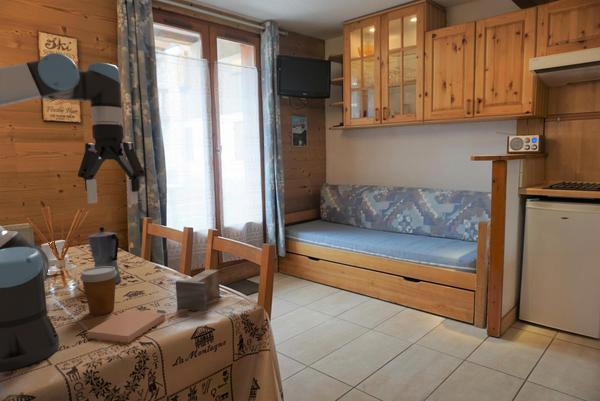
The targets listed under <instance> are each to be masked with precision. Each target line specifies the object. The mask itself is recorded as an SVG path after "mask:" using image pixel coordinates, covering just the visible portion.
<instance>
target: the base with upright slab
mask: <svg viewBox="0 0 600 401" xmlns="http://www.w3.org/2000/svg"><path fill="white" fill-rule="evenodd" d="M54 241H55V245H56V248H57V250H58V252H59V254H61V252H62V248H63V246H64V243H65V241H66V242H67V240H65V239H64V240H63V239H59V240H54ZM52 242H53V241H51V242H47V243H43V244H42V243H41V245H40V248H41V249H42V250H43V251H44V252H45V254H46V256H47V258H48V262H49V267H50V266H52V265H54V264H56V262H57V259H56V257H55V255H54V254H53V252H52V249H51V248H50V246H49V244H48V243H50V244H51V243H52ZM69 258H70V257H69V255H68V253H66V255H65V258H64V260H65V262H67V263H69V264H70V260H69Z"/></svg>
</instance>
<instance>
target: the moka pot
mask: <svg viewBox="0 0 600 401" xmlns="http://www.w3.org/2000/svg"><path fill="white" fill-rule="evenodd" d="M87 239H88V244H89V248H90V252H91V256H92V258H93V263H94V267H101V266H112V267H115V269H116V271H117V275H116V282H115V285H117V283H120V282H121V281H122V278H121V277H122V276H121V274H120V270H119V265H118V262H117V261H118V252H119V247H120V246H119V244H120V242H119V241H120V240H119V237H118V233H116V232H111V231H105V227H103V226H100V227H99V232H96V233H93V234H90V235H88V236H87ZM94 267H93V268H94Z"/></svg>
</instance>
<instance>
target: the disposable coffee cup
mask: <svg viewBox="0 0 600 401" xmlns="http://www.w3.org/2000/svg"><path fill="white" fill-rule="evenodd" d="M116 275H117V271H116V269H115V267H112V266H101V267H91V268H88V269H84V270H82V272H81V274H80V277H79V279H80V280H81V282H82V285H83V286H82V287H83V289H84V294H85V298H86V302H87V306H88V310H89V314H90V315H93V316H95V315H96V316H100V315H104V314H108V313H111V312H112V311H114V310H115V299H116V297H115V296H116V284H115V282H116Z"/></svg>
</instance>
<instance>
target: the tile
mask: <svg viewBox="0 0 600 401" xmlns="http://www.w3.org/2000/svg"><path fill="white" fill-rule="evenodd" d="M165 315H166V314H165V313H163V312H154V311H143V310H134V309H127V310H124V311H123V312H120V313H119V314H117V315H115V316H113V317H112V318H109V319H107V320H106V321H104V322H101V323H100V324H98V325H96V326H94V327H93V328H91V329H89V330H86V332H87V338H88V339H93V340H94V339H95V340H102V341H108V340H110V342H116V341H120V342H119V343H124V342H128V343H127V344H130V343H131V342H133V341H134V340H136V339H137V338H139V337H141V336H142V335H144V334H145V333H146V331H147V330H148V331H149V329H150V330H151V329H153V328H154V327H156V326H158V325H159V324H160V323H162V322H164V321H165V320H166V318H165ZM152 327H153V328H152ZM148 331H147V332H148ZM144 332H145V333H144ZM143 333H144V334H143ZM141 334H142V335H141ZM138 336H139V337H138ZM136 337H137V338H136ZM135 338H136V339H135ZM133 339H134V340H133ZM132 340H133V341H132ZM130 341H131V342H130ZM129 342H130V343H129Z"/></svg>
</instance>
